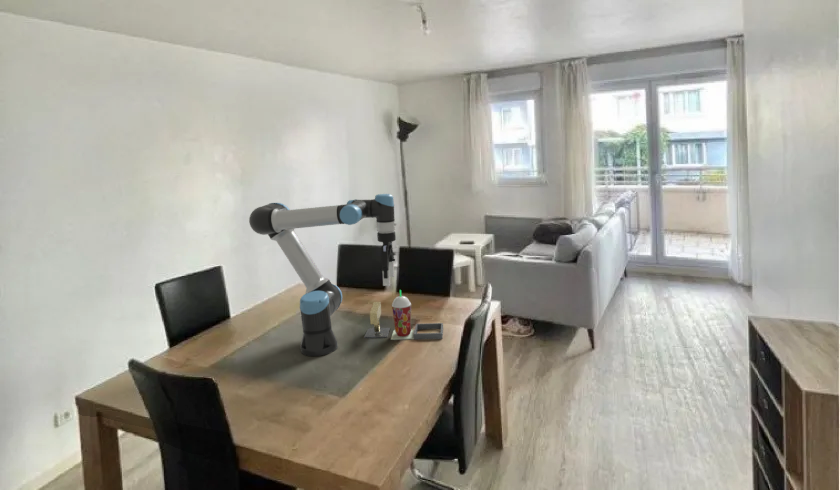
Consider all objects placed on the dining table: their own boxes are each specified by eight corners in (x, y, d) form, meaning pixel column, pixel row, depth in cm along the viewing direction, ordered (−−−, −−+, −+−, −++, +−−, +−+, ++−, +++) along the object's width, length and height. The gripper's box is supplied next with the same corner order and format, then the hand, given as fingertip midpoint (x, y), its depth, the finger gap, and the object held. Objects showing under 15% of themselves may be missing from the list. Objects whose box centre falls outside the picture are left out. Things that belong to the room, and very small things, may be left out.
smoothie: (414, 330, 220) (411, 286, 216) (412, 337, 212) (408, 292, 207) (395, 330, 221) (392, 287, 216) (392, 338, 212) (389, 293, 208)
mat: (390, 339, 212) (390, 338, 212) (393, 330, 221) (393, 330, 221) (414, 339, 211) (414, 338, 211) (416, 330, 221) (416, 329, 220)
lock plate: (364, 338, 215) (364, 336, 215) (368, 329, 225) (368, 328, 225) (387, 337, 214) (386, 336, 214) (390, 328, 224) (390, 327, 224)
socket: (414, 339, 210) (413, 334, 210) (416, 329, 222) (416, 323, 222) (442, 338, 209) (442, 333, 209) (443, 328, 221) (443, 322, 220)
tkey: (378, 337, 212) (376, 312, 210) (371, 337, 212) (369, 313, 210) (382, 324, 227) (380, 301, 224) (375, 324, 227) (373, 301, 225)
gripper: (391, 237, 193) (393, 289, 198) (398, 226, 218) (400, 272, 222) (372, 237, 194) (375, 289, 198) (381, 226, 218) (384, 273, 223)
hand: (388, 280), depth 210 cm, fingers open, 13 cm apart
